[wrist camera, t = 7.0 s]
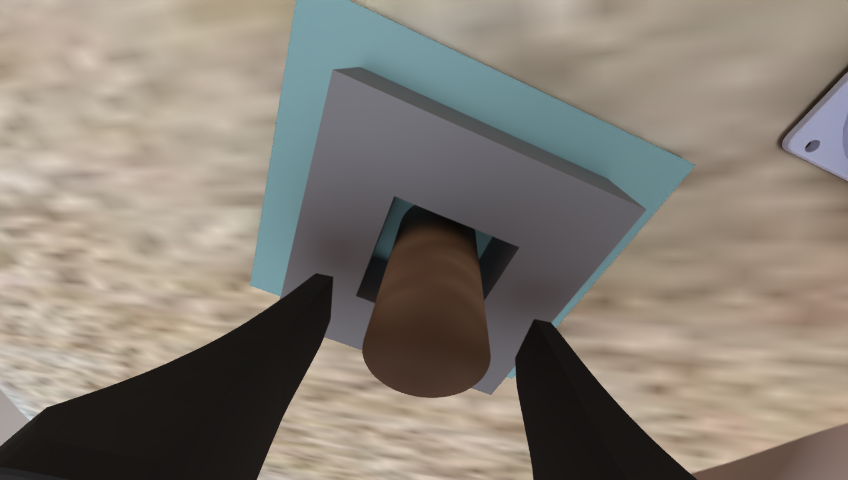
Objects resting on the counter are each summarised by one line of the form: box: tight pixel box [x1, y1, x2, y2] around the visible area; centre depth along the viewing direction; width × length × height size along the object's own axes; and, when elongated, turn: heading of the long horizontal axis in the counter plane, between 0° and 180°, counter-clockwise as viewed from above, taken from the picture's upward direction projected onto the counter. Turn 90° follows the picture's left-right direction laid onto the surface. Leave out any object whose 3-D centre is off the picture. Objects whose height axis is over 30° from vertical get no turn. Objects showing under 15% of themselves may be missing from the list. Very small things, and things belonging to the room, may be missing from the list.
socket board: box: [250, 0, 695, 395], centre depth 16 cm, size 18×16×4 cm
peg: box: [362, 205, 491, 398], centre depth 14 cm, size 4×4×8 cm
